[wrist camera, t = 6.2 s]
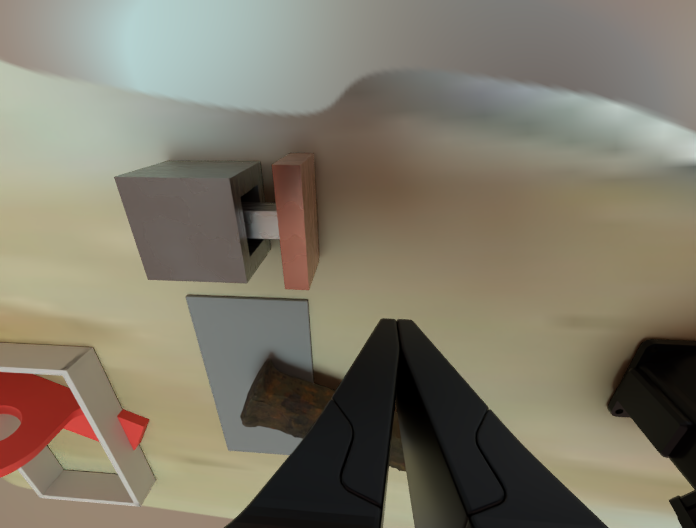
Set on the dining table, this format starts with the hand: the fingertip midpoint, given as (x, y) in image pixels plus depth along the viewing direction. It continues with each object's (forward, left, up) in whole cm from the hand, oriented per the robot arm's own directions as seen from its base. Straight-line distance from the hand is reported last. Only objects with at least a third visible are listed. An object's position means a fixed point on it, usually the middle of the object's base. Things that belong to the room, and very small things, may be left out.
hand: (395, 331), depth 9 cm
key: (+7, 0, -10) cm, 12 cm away
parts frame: (+26, +19, -10) cm, 34 cm away
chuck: (+9, 0, -10) cm, 13 cm away
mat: (+9, +14, -10) cm, 19 cm away
